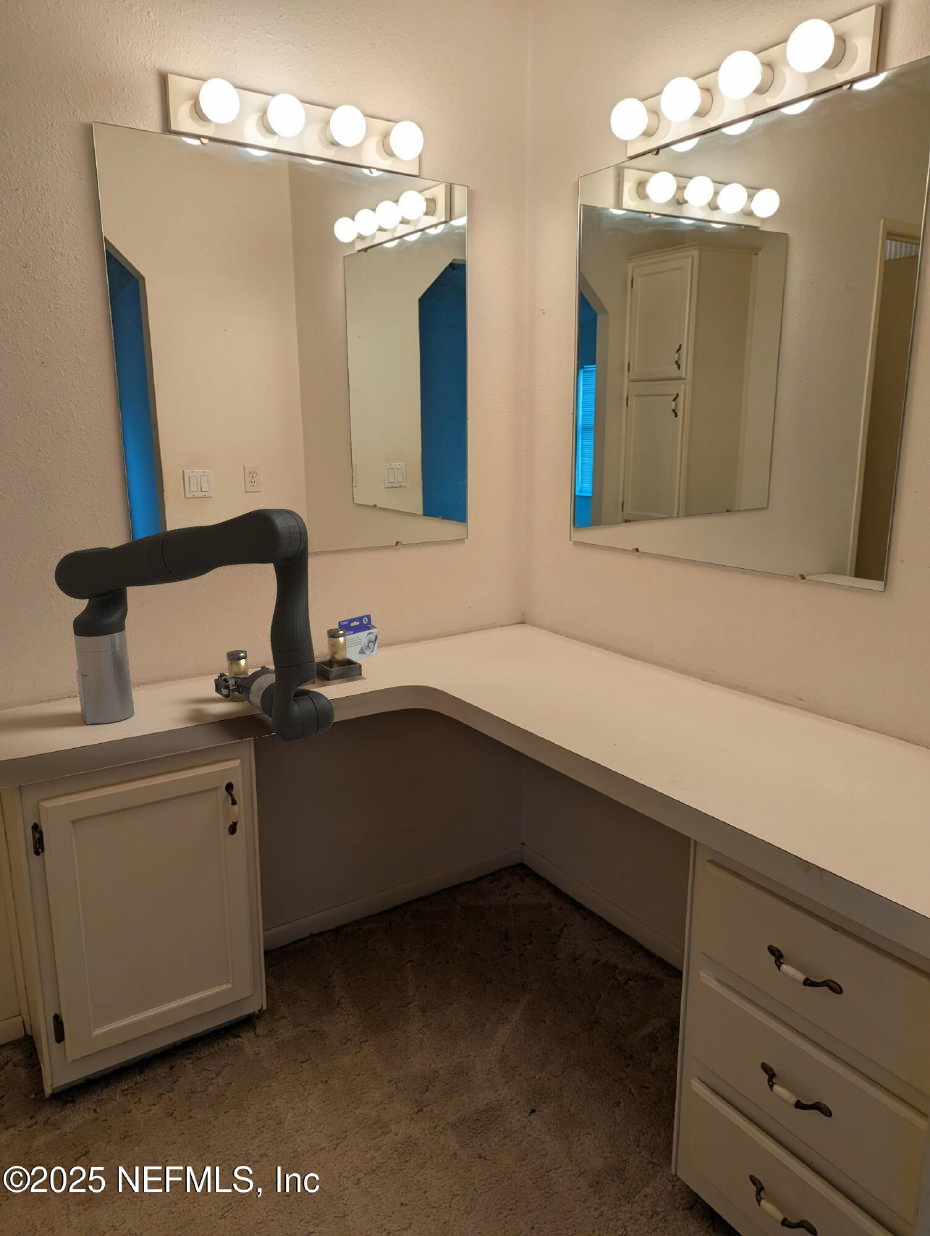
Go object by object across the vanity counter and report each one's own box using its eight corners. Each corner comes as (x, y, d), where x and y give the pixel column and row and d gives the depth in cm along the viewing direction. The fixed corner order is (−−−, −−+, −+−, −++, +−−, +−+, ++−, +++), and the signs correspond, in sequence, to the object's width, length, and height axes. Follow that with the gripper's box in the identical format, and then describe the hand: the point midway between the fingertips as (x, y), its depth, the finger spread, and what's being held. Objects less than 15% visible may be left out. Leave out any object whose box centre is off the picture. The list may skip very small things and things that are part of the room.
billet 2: (334, 677, 186) (331, 633, 184) (326, 673, 189) (324, 630, 187) (351, 674, 188) (348, 630, 186) (343, 670, 191) (341, 627, 189)
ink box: (346, 671, 196) (343, 622, 194) (338, 670, 198) (336, 621, 195) (379, 660, 205) (377, 614, 203) (372, 659, 207) (370, 613, 204)
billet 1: (233, 703, 174) (229, 656, 172) (227, 698, 178) (223, 652, 175) (253, 699, 176) (249, 653, 174) (246, 694, 180) (243, 649, 178)
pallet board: (287, 700, 175) (286, 681, 174) (263, 684, 187) (262, 667, 186) (368, 685, 185) (367, 667, 184) (341, 670, 197) (340, 654, 196)
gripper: (304, 668, 163) (274, 651, 176) (231, 680, 155) (205, 661, 169) (306, 705, 164) (276, 685, 178) (234, 719, 157) (208, 697, 170)
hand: (242, 674), depth 173 cm, fingers open, 8 cm apart
